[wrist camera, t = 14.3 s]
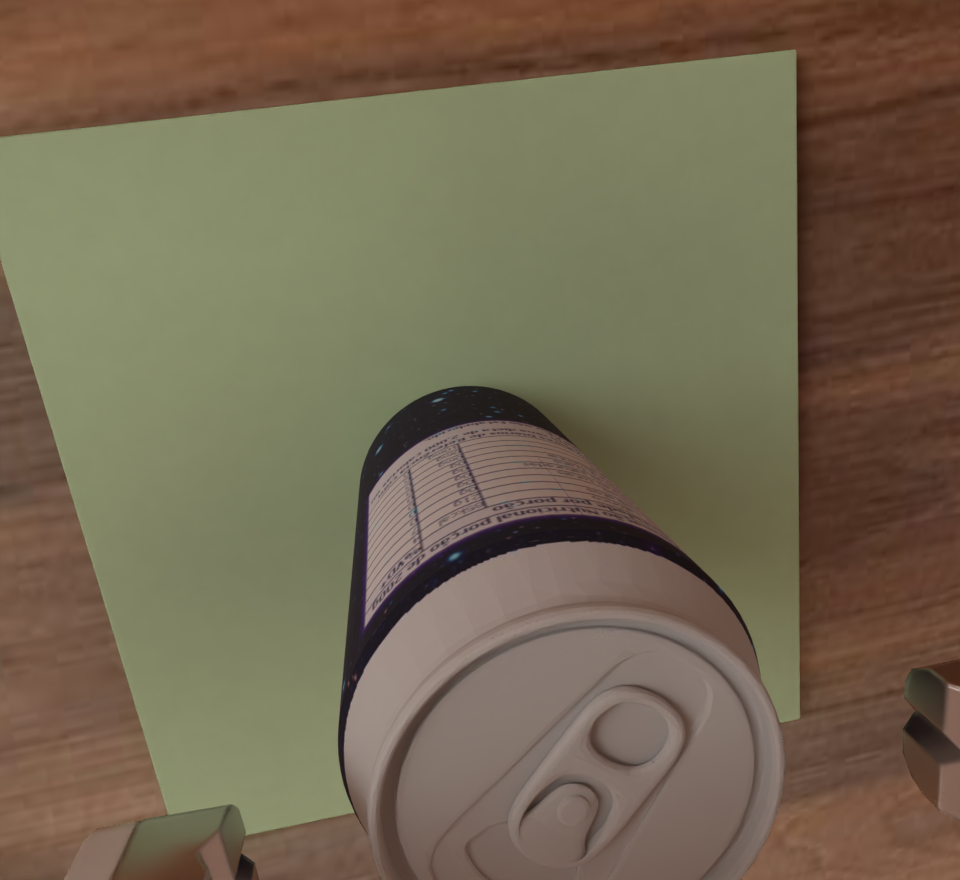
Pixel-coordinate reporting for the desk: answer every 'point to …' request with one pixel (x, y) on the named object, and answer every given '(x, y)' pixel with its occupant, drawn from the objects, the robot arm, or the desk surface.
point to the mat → (399, 362)
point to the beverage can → (540, 667)
